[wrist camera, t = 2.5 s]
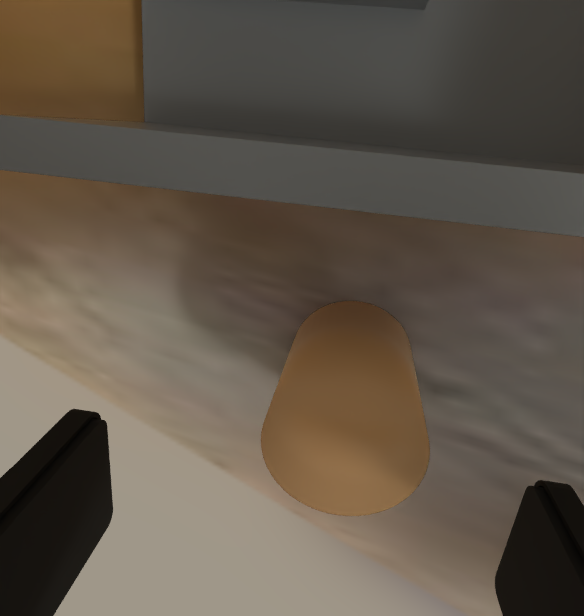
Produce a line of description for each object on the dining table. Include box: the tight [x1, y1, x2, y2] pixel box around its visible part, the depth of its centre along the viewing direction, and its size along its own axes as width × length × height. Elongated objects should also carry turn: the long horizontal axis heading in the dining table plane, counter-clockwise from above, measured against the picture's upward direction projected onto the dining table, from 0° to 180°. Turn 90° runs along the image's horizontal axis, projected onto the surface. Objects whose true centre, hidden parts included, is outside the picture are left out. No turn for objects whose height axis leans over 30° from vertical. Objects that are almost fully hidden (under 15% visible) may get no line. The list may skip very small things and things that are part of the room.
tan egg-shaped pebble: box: [261, 301, 430, 516], centre depth 15 cm, size 4×4×6 cm
